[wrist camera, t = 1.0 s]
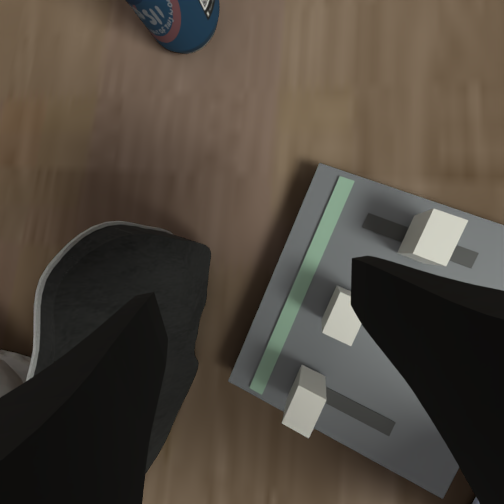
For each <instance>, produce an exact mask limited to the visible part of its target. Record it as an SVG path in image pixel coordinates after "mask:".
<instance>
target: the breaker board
mask: <svg viewBox="0 0 504 504" xmlns="http://www.w3.org/2000/svg"><path fill="white" fill-rule="evenodd" d="M431 209H437V210H440V211H443V212H446V213H448V214H451V215H454V216H457V217H460V218H463V219H466V220H468V222H467V224H466V226H465V229H464V231H463V233H462V235H461V237H460V239H459V241H458V243H457V245H456V247H455V249H454V251H453V254H452V256H451V258H450V260H449V262H448V264H447V266H439V265H431V264H424V263H422V262H419V261H416V260H414V259H411V258H409V257H406V256H403V255H401V254H398V253H397V252H398V250H399V248H400V246H401V243H402V241H403V239H404V237H405V235H406V233H407V230H408V228H409V226H410V224H411V222H412V220H413V217H414V215H417V214H420V213H423V212H425V211H428V210H431ZM367 255H368V256H373V257H378V258H381V259H385V260H389V261H392V262H395V263H398V264H402V265H405V266H408V267H411V268H415V269H418V270H421V271H425V272H428V273H431V274H435V275H438V276H442V277H446V278H450V279H454V280H457V281H461V282H465V283H470V284H474V285H479V286H484V287H488V288H493V289H498V290H503V291H504V225H501V224H498V223H495V222H492V221H490V220H487V219H484V218H481V217H478V216H475V215H472V214H469V213H466V212H463V211H460V210H457V209H454V208H451V207H448V206H445V205H442V204H439V203H436V202H433V201H430V200H428V199H425V198H422V197H419V196H416V195H413V194H410V193H407V192H404V191H401V190H398V189H395V188H392V187H389V186H386V185H383V184H380V183H377V182H374V181H371V180H369V179H366V178H363V177H360V176H357V175H354V174H351V173H348V172H345V171H342V170H339V169H336V168H333V167H330V166H327V165H324V164H321V163H319V165H318V168H317V170H316V172H315V175H314V177H313V180H312V182H311V184H310V187H309V189H308V191H307V194H306V196H305V199H304V201H303V203H302V206H301V208H300V211H299V213H298V215H297V218H296V220H295V223H294V225H293V227H292V230H291V232H290V235H289V237H288V239H287V242H286V244H285V246H284V249H283V251H282V254H281V256H280V258H279V261H278V263H277V266H276V268H275V270H274V273H273V275H272V278H271V280H270V282H269V285H268V287H267V289H266V292H265V294H264V297H263V299H262V301H261V304H260V306H259V309H258V311H257V313H256V316H255V318H254V321H253V323H252V325H251V328H250V330H249V332H248V335H247V337H246V340H245V342H244V344H243V347H242V349H241V352H240V354H239V356H238V359H237V361H236V364H235V366H234V368H233V371H232V373H231V376H230V378H229V380H228V381H229V382H230V383H232V384H234V385H236V386H238V387H240V388H241V389H243V390H245V391H247V392H249V393H250V394H252V395H254V396H256V397H258V398H260V399H261V400H263V401H265V402H267V403H269V404H270V405H272V406H274V407H276V408H278V409H280V410H281V411H283V412H284V410H285V405H286V401H287V396H288V394H289V392H290V390H291V387H292V385H293V383H294V381H295V378H296V376H297V374H298V372H299V369H300V367H301V365H304V366H306V367H308V368H310V369H312V370H314V371H316V372H318V373H320V374H322V375H324V376H325V379H326V397H327V400H326V402H325V405H324V407H323V409H322V411H321V413H320V415H319V418H318V420H317V422H316V424H315V426H314V429H316V430H318V431H320V432H321V433H323V434H325V435H327V436H329V437H331V438H332V439H334V440H336V441H338V442H340V443H342V444H343V445H345V446H347V447H349V448H351V449H352V450H354V451H356V452H358V453H360V454H362V455H363V456H365V457H367V458H369V459H371V460H372V461H374V462H376V463H378V464H380V465H382V466H383V467H385V468H387V469H389V470H391V471H393V472H394V473H396V474H398V475H400V476H402V477H403V478H405V479H407V480H409V481H411V482H413V483H414V484H416V485H418V486H420V487H422V488H423V489H425V490H427V491H429V492H431V493H433V494H434V495H436V496H438V497H440V498H442V499H443V498H444V496H445V494H446V492H447V490H448V488H449V486H450V484H451V482H452V480H453V478H454V477H455V475H456V473H457V471H458V469H459V466H458V464H457V462H456V460H455V459H454V457H453V455H452V453H451V452H450V450H449V448H448V447H447V445H446V443H445V442H444V440H443V438H442V437H441V435H440V433H439V432H438V430H437V428H436V427H435V425H434V423H433V422H432V420H431V419H430V417H429V415H428V414H427V412H426V411H425V409H424V408H423V406H422V405H421V403H420V401H419V400H418V398H417V397H416V395H415V394H414V392H413V391H412V389H411V388H410V386H409V385H408V384H407V382H406V381H405V379H404V378H403V377H402V375H401V374H400V373H399V372H398V370H397V369H396V368H395V367H394V365H393V364H392V363H391V362H390V360H389V359H388V358H387V357H386V355H385V354H384V353H383V352H382V350H381V349H380V348H379V346H378V345H377V344H376V343H375V341H374V340H373V339H372V338H371V336H370V335H369V334H368V332H367V331H366V330H365V328H364V327H363V326H362V324H361V326H360V328H359V331H358V333H357V335H356V337H355V339H354V341H353V344H352V346H349V345H347V344H345V343H343V342H341V341H339V340H336V339H334V338H332V337H330V336H328V335H326V334H324V333H322V318H323V315H324V313H325V311H326V309H327V306H328V304H329V302H330V300H331V297H332V295H333V293H334V290H335V288H336V286H340V287H342V288H344V289H347V290H349V291H351V267H352V258H356V257H362V256H367Z"/></svg>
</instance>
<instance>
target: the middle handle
mask: <svg viewBox="0 0 504 504" xmlns="http://www.w3.org/2000/svg"><path fill="white" fill-rule="evenodd" d="M360 326H361V322H360V321H359V319H358V317H357V315H356V314H355V312H354V310H353V308H352V306H351V291H349V290H347V289H344V288H342V287H340V286H336V288H335V290H334V293H333V295H332V297H331V300H330V302H329V304H328V306H327V309H326V311H325V313H324V315H323V318H322V333H324V334H326V335H328V336H330V337H332V338H334V339H336V340H339V341H341V342H343V343H345V344H347V345H349V346H352V344H353V341H354V339H355V337H356V335H357V333H358V331H359V328H360Z"/></svg>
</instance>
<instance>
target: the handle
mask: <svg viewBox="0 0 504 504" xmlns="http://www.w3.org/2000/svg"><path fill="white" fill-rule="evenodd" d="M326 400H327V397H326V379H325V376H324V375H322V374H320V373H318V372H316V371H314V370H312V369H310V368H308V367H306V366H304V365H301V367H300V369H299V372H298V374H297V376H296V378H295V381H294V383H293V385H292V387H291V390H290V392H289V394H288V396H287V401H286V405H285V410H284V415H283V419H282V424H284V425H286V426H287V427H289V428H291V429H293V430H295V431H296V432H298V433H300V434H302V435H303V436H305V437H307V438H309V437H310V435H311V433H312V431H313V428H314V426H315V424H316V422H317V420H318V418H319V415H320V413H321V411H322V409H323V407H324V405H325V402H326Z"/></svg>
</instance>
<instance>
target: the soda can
mask: <svg viewBox="0 0 504 504" xmlns="http://www.w3.org/2000/svg"><path fill="white" fill-rule="evenodd" d="M126 1H127V3H128V4H129V5H130V6H131V8H132V9H133V10H134V12H135V13H136V14H137V16H138V17H139V18H140V20H141V21H142V22H143V23H144V25H145V26H146V27H147V29H148V30H149V31H150V33H151V34H152V35H153V36H154V38H155V39H156V40H157V42H158V43H159V44H160V45H161V46H163V47H164V48H166V49H168V50H170V51H173V52H178V53H184V54H189V53H193V52H196V51H198V50H200V49H202V48H203V47H204V46H205V45H206V44H207V43H208V42H209V41H210V40H211V38H212V37H213V35H214V32H215V30H216V26H217V22H218V17H219V0H126Z"/></svg>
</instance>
